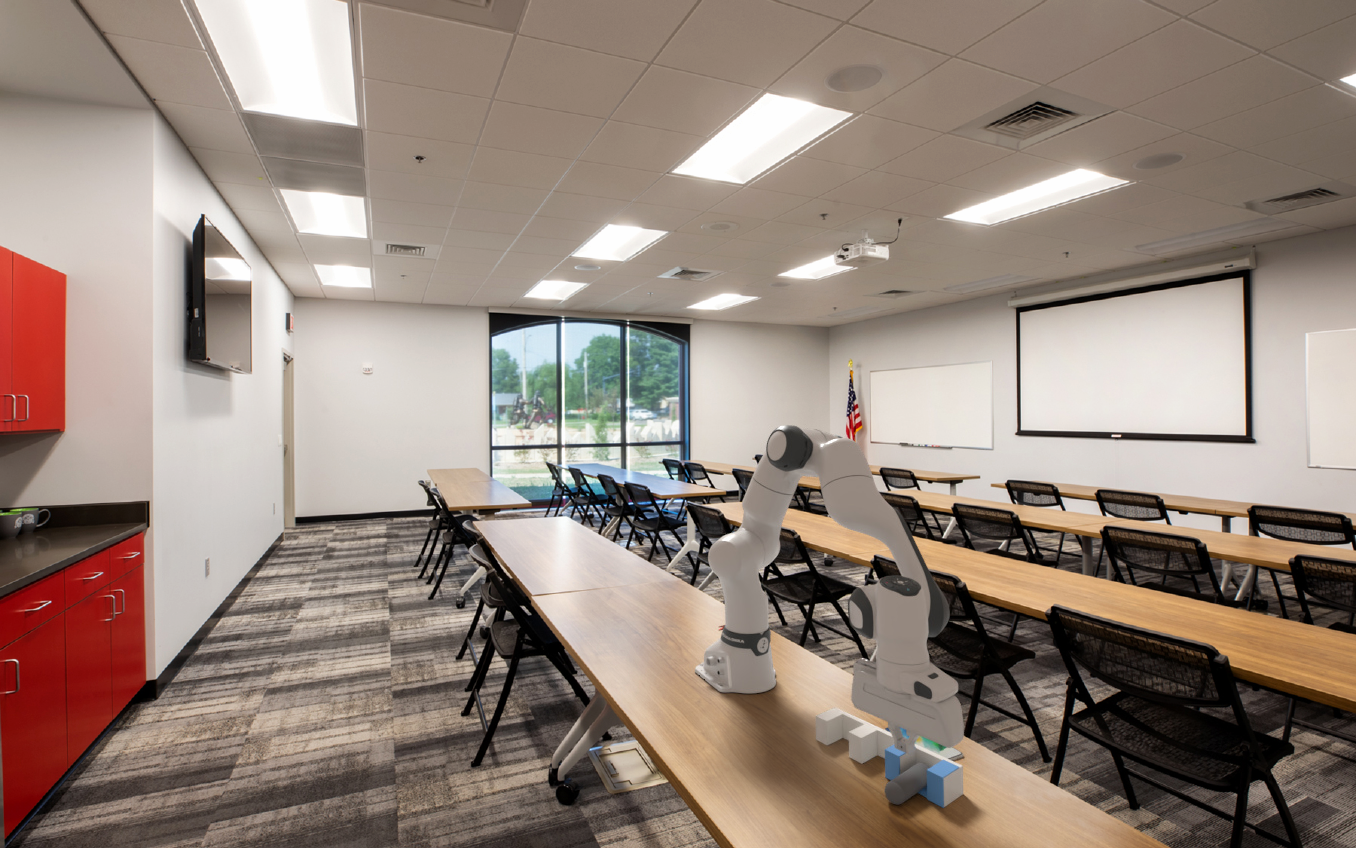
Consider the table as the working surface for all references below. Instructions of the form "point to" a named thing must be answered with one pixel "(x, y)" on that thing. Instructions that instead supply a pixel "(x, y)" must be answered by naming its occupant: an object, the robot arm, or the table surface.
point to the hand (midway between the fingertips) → (904, 750)
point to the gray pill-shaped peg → (907, 784)
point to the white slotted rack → (891, 754)
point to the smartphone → (934, 746)
